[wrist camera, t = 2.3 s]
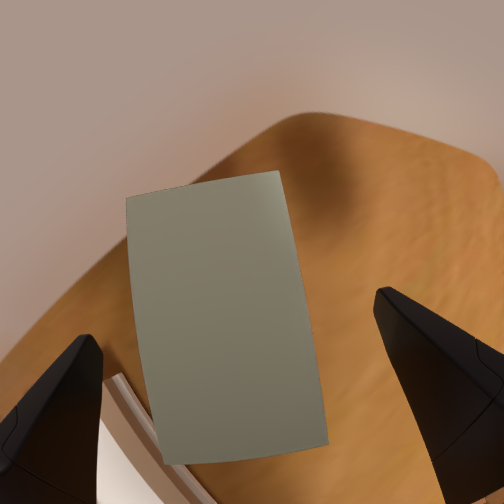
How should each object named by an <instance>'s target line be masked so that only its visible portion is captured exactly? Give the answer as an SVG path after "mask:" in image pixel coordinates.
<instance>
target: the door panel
mask: <svg viewBox="0 0 504 504" xmlns="http://www.w3.org/2000/svg"><path fill="white" fill-rule="evenodd" d="M126 219H127V242H128V258H129V271H130V282H131V292H132V302H133V310H134V318H135V326H136V333H137V340H138V346H139V353H140V359H141V365H142V370H143V376H144V381H145V386H146V391H147V396H148V401H149V405H150V410H151V414H152V419H153V423H154V427H155V431H156V435H157V439H158V443H159V447H160V450H161V454H162V458H163V461H164V465H184V464H206V463H220V462H231V461H240V460H248V459H256V458H263V457H269V456H276V455H281V454H287V453H292V452H297V451H302V450H307V449H311V448H316V447H320V446H324V445H328V444H329V441H328V433H327V426H326V419H325V412H324V405H323V398H322V391H321V385H320V378H319V372H318V366H317V360H316V354H315V348H314V342H313V336H312V330H311V325H310V319H309V313H308V308H307V303H306V297H305V292H304V287H303V281H302V276H301V271H300V266H299V261H298V256H297V251H296V246H295V242H294V237H293V232H292V227H291V223H290V218H289V213H288V209H287V204H286V200H285V195H284V191H283V186H282V182H281V178H280V173H279V170H277V171H270V172H263V173H256V174H249V175H243V176H237V177H230V178H224V179H218V180H213V181H207V182H202V183H196V184H191V185H186V186H180V187H176V188H170V189H165V190H161V191H156V192H151V193H147V194H142V195H138V196H133V197H129V198H126Z"/></svg>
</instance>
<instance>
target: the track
mask: <svg viewBox="0 0 504 504" xmlns="http://www.w3.org/2000/svg"><path fill="white" fill-rule="evenodd" d="M97 504H217V503H216V502H215V500H214V499H213V498H212V497H211V496H210V495H209V494H208V493H207V491H206V490H205V489H204V488H203V487H202V486H201V485H200V483H199V482H198V481H197V480H196V479H195V477H194V476H193V475H192V474H191V472H190V471H189V470H188V469H187V468H186V466H185V465H164V461H163V458H162V454H161V450H160V447H159V443H158V439H157V435H156V431H155V427H154V423H153V421H152V420H151V418H150V417H149V415H148V414H147V412H146V411H145V409H144V408H143V406H142V405H141V403H140V401H139V400H138V398H137V397H136V395H135V393H134V392H133V390H132V389H131V387H130V385H129V384H128V382H127V380H126V378H125V377H124V375H123V373H119V374H117V375H115V376H113V377H111V378H108V379H105V380H103V383H102V405H101V415H100V426H99V439H98V457H97Z"/></svg>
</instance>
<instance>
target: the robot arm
mask: <svg viewBox="0 0 504 504" xmlns="http://www.w3.org/2000/svg"><path fill="white" fill-rule="evenodd" d="M373 312H374V317H375V319H376V322H377V325H378V328H379V331H380V334H381V337H382V340H383V343H384V346H385V349H386V352H387V354H388V357H389V359H390V362H391V364H392V366H393V368H394V370H395V373H396V375H397V377H398V379H399V382H400V384H401V386H402V389H403V391H404V393H405V395H406V398H407V400H408V403H409V405H410V407H411V410H412V412H413V415H414V417H415V420H416V422H417V425H418V427H419V430H420V432H421V435H422V437H423V440H424V442H425V445H426V448H427V450H428V453H429V456H430V459H431V461H432V465H433V467H434V470H435V473H436V476H437V479H438V482H439V485H440V488H441V491H442V494H443V497H444V500H445V503H446V504H472V503H474V502H476V501H478V500H480V499H482V498H484V497H485V499H486V503H484V504H504V354H502V353H500V352H498V351H496V350H495V349H493V348H491V347H490V346H488V345H486V344H485V343H483V342H482V341H480V340H478V339H477V338H476V339H475V337H473V336H472V335H470V334H469V333H467V332H465V331H464V330H462V329H461V328H459V327H457V326H456V325H454V324H452V323H451V322H449V321H447V320H446V319H444V318H442V317H441V316H439V315H438V314H436V313H434V312H433V311H431V310H429V309H427V308H426V307H424V306H422V305H421V304H419V303H417V302H416V301H414V300H412V299H411V298H409V297H407V296H405V295H404V294H402V293H400V292H399V291H397V290H395V289H393V288H392V287H383V288H379V289H378V290H377V291H376V296H375V302H374V307H373ZM102 383H103V353H102V350H101V349H100V347H99V345H98V344H97V342H96V341H95V339H94V338H93V336H92V335H90V334H83V335H79V336H78V337H77V338H76V339H75V340H74V341H73V342H72V343H71V344H70V345H69V346H68V347H67V349H66V350H65V351H64V352H63V353H62V354H61V355H60V356H59V357H58V358H57V359H56V360H55V361H54V363H53V364H52V365H51V366H50V367H49V368H48V369H47V370H46V371H45V372H44V374H43V375H42V376H41V377H40V378H39V379H38V380H37V381H36V383H35V384H34V385H33V386H32V387H31V388H30V389H29V390H28V392H27V393H26V394H25V395H24V396H23V397H22V399H21V400H20V401H19V402H18V403H17V405H16V406H15V407H14V408H13V409H12V410H11V412H10V413H9V414H8V415H7V416H6V417H5V418H4V420H3V421H2V422H1V423H0V504H97V457H98V439H99V426H100V415H101V405H102Z"/></svg>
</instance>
